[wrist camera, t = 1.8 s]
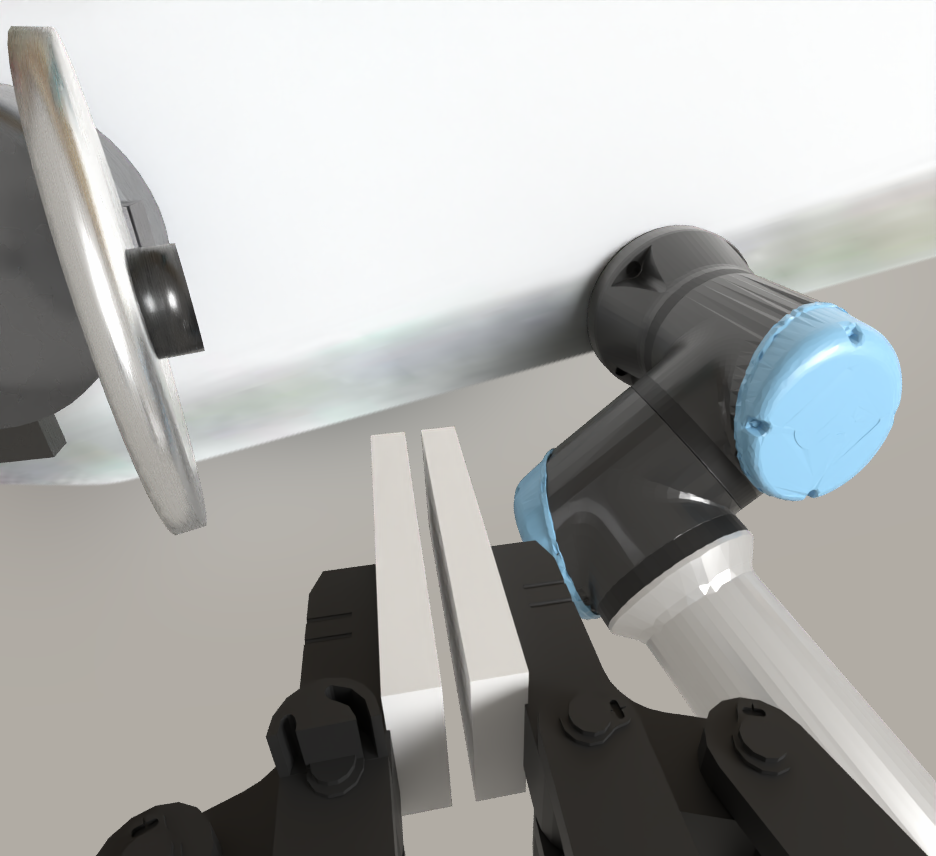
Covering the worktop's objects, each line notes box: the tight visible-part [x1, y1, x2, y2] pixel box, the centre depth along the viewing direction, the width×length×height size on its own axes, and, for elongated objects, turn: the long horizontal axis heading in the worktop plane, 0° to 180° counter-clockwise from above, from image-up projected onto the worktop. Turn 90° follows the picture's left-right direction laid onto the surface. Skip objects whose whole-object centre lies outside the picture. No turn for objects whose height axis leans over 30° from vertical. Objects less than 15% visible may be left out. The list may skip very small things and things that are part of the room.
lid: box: [8, 26, 206, 535], centre depth 27 cm, size 22×21×3 cm
